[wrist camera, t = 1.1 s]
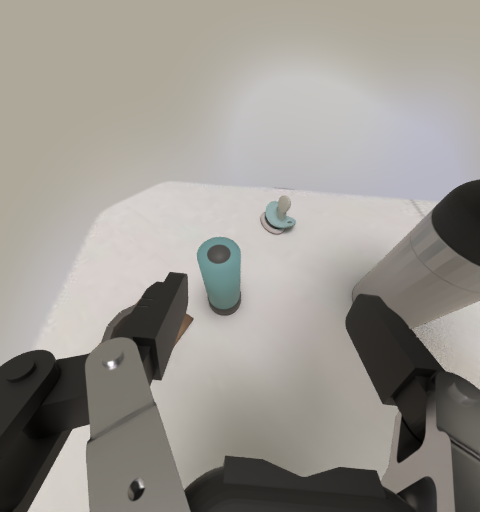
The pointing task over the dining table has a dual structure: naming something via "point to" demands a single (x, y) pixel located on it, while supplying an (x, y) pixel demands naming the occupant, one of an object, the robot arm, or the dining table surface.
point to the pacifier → (278, 215)
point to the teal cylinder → (221, 273)
